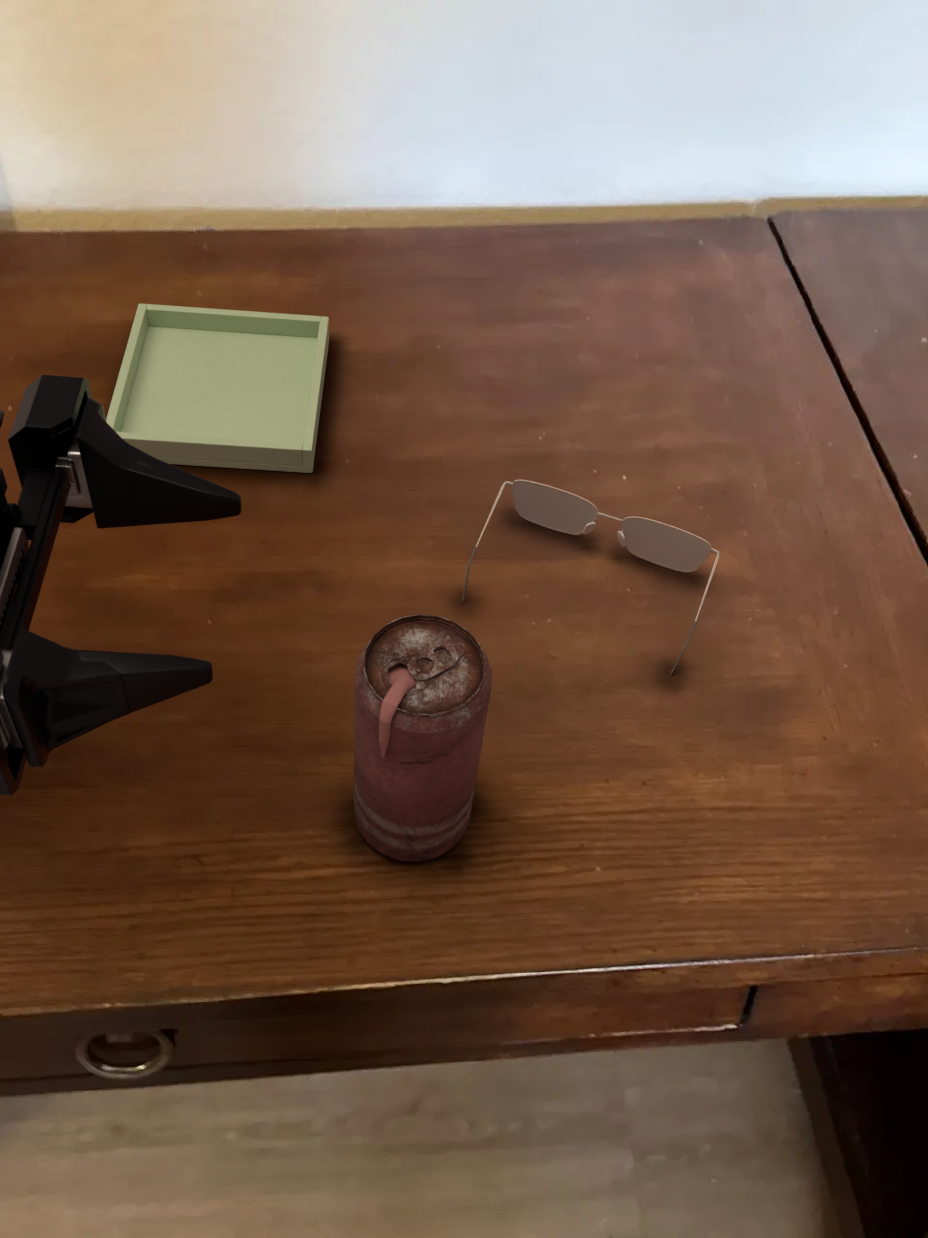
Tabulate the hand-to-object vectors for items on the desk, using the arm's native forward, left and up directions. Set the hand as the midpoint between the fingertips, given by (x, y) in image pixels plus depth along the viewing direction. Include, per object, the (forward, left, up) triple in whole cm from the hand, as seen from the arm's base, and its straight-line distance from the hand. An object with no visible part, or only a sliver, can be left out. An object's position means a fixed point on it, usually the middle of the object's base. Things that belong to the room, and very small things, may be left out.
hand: (227, 583), depth 52 cm
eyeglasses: (+19, +14, -16) cm, 29 cm away
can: (+9, -2, -16) cm, 19 cm away
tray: (-5, +29, -16) cm, 34 cm away
